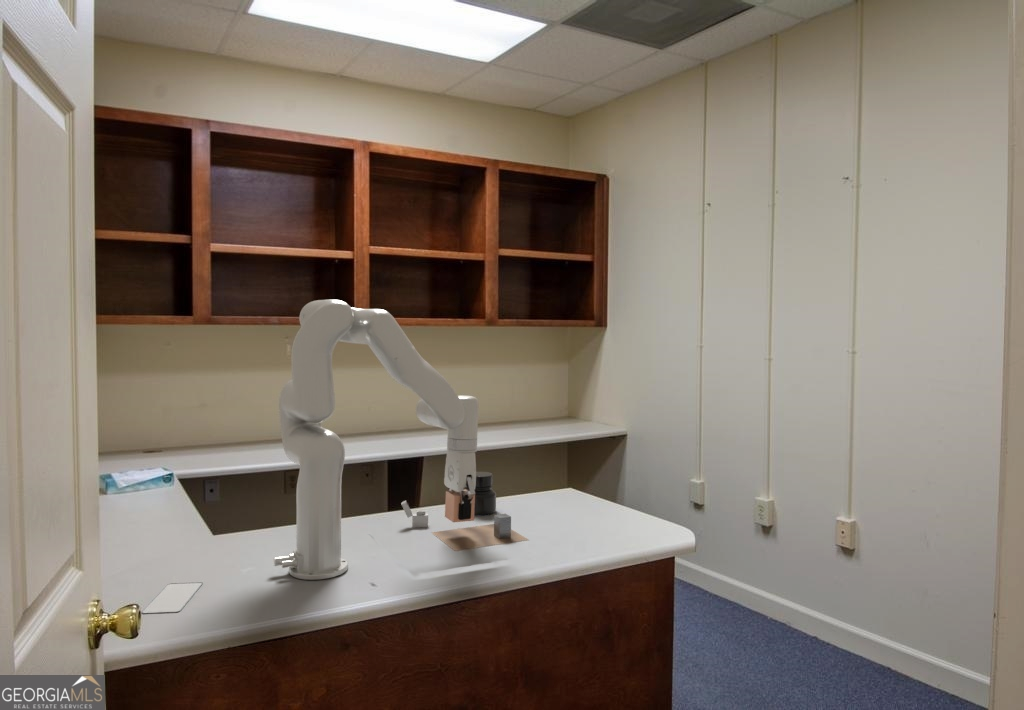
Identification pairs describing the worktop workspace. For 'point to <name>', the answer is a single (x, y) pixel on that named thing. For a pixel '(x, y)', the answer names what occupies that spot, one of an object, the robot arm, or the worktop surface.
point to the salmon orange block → (456, 506)
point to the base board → (474, 537)
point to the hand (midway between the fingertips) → (459, 515)
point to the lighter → (416, 516)
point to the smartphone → (172, 598)
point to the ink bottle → (484, 495)
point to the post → (502, 526)
